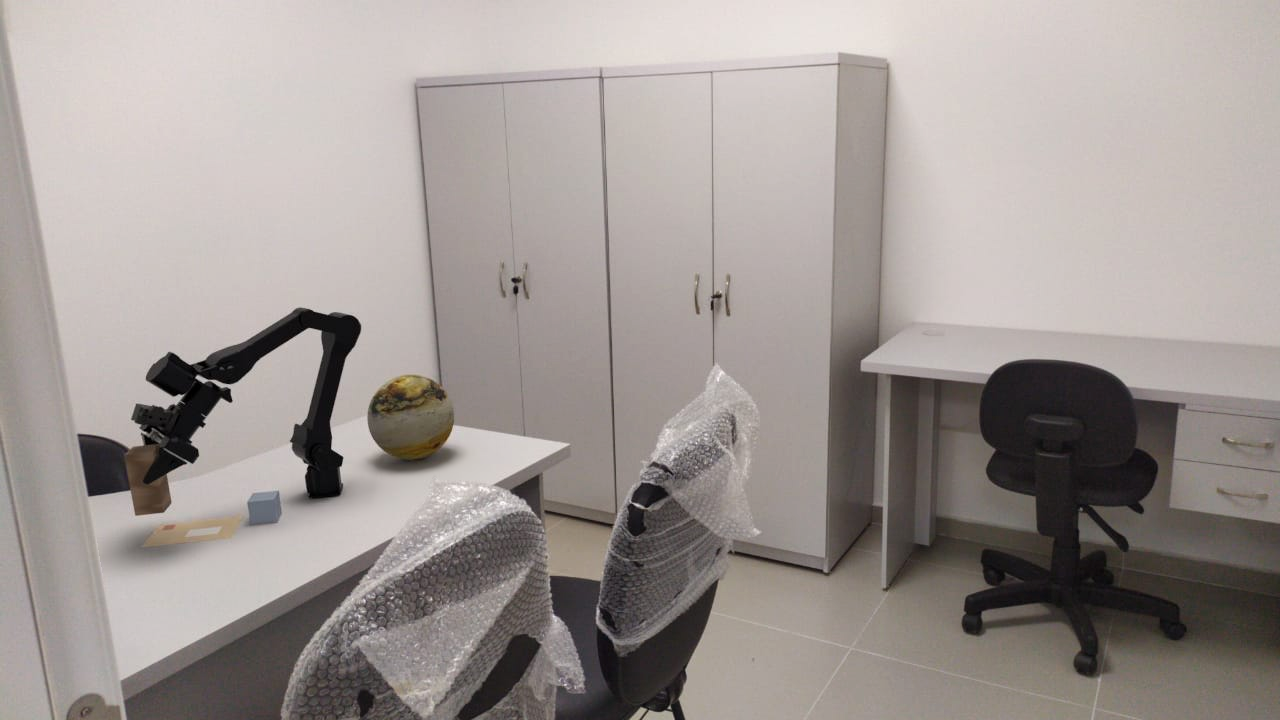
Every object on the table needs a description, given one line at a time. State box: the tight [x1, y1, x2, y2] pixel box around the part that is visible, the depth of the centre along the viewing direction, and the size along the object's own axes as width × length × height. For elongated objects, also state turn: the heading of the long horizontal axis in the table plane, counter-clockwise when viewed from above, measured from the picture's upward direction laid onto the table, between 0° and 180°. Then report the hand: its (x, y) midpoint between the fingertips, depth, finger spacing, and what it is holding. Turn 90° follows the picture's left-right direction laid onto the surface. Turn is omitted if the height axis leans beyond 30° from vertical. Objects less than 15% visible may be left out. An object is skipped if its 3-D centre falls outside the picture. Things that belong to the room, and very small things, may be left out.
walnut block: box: [123, 444, 173, 517], centre depth 173 cm, size 5×5×12 cm
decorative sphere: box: [367, 374, 455, 461], centre depth 216 cm, size 20×20×20 cm
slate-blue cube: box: [246, 490, 283, 526], centre depth 184 cm, size 5×5×5 cm
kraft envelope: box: [141, 515, 244, 548], centre depth 180 cm, size 16×11×1 cm
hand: (139, 478), depth 172 cm, fingers closed on walnut block, 7 cm apart
